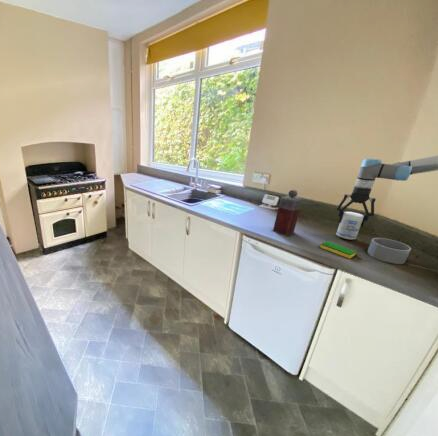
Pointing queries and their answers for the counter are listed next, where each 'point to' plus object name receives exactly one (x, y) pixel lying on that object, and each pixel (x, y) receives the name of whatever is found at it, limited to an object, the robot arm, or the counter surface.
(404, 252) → the gray round bowl
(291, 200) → the glass decanter
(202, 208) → the counter surface
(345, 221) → the supplement tub
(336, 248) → the dish sponge
